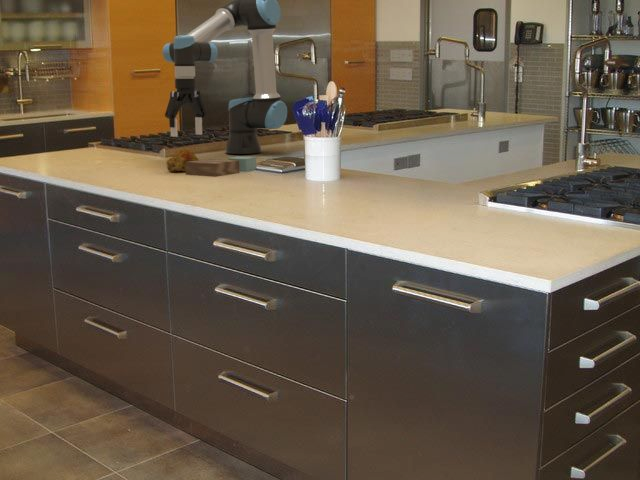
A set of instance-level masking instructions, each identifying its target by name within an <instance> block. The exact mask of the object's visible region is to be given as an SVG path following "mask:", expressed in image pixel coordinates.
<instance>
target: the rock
mask: <svg viewBox="0 0 640 480" xmlns="http://www.w3.org/2000/svg"><path fill="white" fill-rule="evenodd" d="M197 160H199V159H198V157H197V155H196V154H195V153H194V151H192V150H191V149H188V148H183V149H181V150H179V151H178V152H176V153H174V154H173V156H172V157H169V158H168V160H167V161H166V168H167V170H168V171H170V172H177V171H178V172H181V171H182V172H186V163H185V162H189V161H197Z"/></svg>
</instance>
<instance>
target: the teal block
mask: <svg viewBox="0 0 640 480" xmlns="http://www.w3.org/2000/svg"><path fill="white" fill-rule="evenodd" d="M227 160H239V170H240V172H241V173H242V172H244V173H245V172H252V171H255V170H257V156H239V155H238V156H233V157H227Z"/></svg>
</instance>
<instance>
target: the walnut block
mask: <svg viewBox="0 0 640 480" xmlns="http://www.w3.org/2000/svg"><path fill="white" fill-rule="evenodd" d="M185 163H186V171H185V175H187V176H201V177H212V178H213V177H214V178H216V177H220V176H221V177H222V176H227V175H234V174H240V172H241V171H240V170H239V160H228V159H222V158H221V159H220V158H207V159H206V158H204V159H198V160H197V161H189V162H185Z"/></svg>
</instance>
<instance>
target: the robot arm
mask: <svg viewBox="0 0 640 480" xmlns="http://www.w3.org/2000/svg"><path fill="white" fill-rule="evenodd" d="M281 10H282V9H281V7H280V4H279V2H278V1H277V0H231V1H229V2H228V3H226V4H223V5H222V6H221V7H219V8H218V9H217V10H216V11H215V14H214V15H213V16H211V17H210V18H208V19H207V20H206V21H204V22H203V23H201V24H200V25H198V26H196V27H195V28H194V29H192V30H191V31H190V32H188V33H187V34H185V35H176V36H174V37H173V42H169V43H165V44H164V45H163V48H162V52H161V53H162V56H163V59H164V61H166V62H167V63H172V64H174V78H175V79H174V88H175V89H176V91H170V95H169V100H168V104H167V107H166V109H165V113H164V118H166V119H169V128H170V137H174V138H175V137H177V138H178V118H176V117H177V115H178V114H179V111H180V110H181V108H182V106H183V105H184V104H188V105H189V106H190V107H191V109H192V111H193V113H194V114H195V115H196V117H194V122H195V123H194V125H195V135H203V123H204V122H203V118H205V117H206V116H207V110H206V108H205V106H204V102H203V100H202V96H201V91H200V90H195V89H196V79H195V77H196V63H213V62H215V61H216V60H217V58H218V55H219V53H218V52H219V50H218V47H217V45H216V44H214V43H212V41H214V40H215V39H216V38H217V37H219V36H221V35H222V34H223V33H224V32H226V31H231V30H234V29H235V28H238V27H247V32H248V33H249V34H251V42H252V43H251V44H252V57H253V68H254V69H253V70H254V71H253V72H254V84H255V85H254V86H255V94H254V95H253V97H252V96H251V97H242V98H241V97H240V98H235V99H231V100H230V101H229V103H228V109H227V110H228V130H229V132H228V135H229V136H228V139H227V142H226V146H225V153H226V154H231V155H235V154H236V155H245V154H246V155H247V154H248V155H249V154H259V153H262V147H261V144H260V141H259V138H258V135H257V134H258V133H257V129H259V130H260V129H261V130H262V129H264V130H265V129H266V130H278V129H280V128H282V127H283V125H284V124H285V123H286V120H287V117H288V107H287V105H286V103H285V102H284V101H283V100H281V95H280V94H279V93H278V92H277V79H276V66H275V51H274V50H275V49H274V36H273V33H274V32H275V31H276V29H277V28H276V27H277V24H278V23H280V21H281V17H282V13H281V12H282V11H281Z"/></svg>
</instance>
